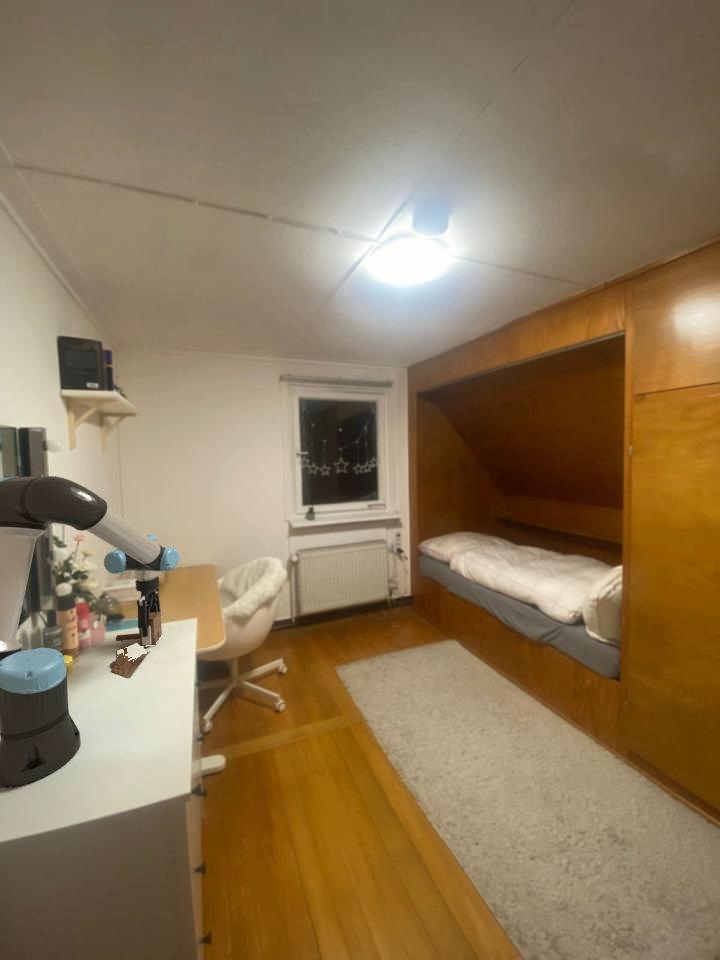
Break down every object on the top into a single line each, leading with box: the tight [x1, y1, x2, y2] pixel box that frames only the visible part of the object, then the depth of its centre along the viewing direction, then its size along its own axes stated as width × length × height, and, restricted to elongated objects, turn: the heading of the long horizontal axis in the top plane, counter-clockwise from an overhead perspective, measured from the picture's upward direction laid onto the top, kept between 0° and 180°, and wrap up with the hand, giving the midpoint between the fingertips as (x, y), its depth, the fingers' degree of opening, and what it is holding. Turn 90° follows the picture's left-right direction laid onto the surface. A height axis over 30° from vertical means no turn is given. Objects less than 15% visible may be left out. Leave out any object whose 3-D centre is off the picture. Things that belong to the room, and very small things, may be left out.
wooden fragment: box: [109, 647, 149, 679], centre depth 129 cm, size 26×11×1 cm, turn 24°
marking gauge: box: [115, 611, 163, 646], centre depth 140 cm, size 14×7×10 cm, turn 98°
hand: (151, 639), depth 141 cm, fingers closed on marking gauge, 7 cm apart
